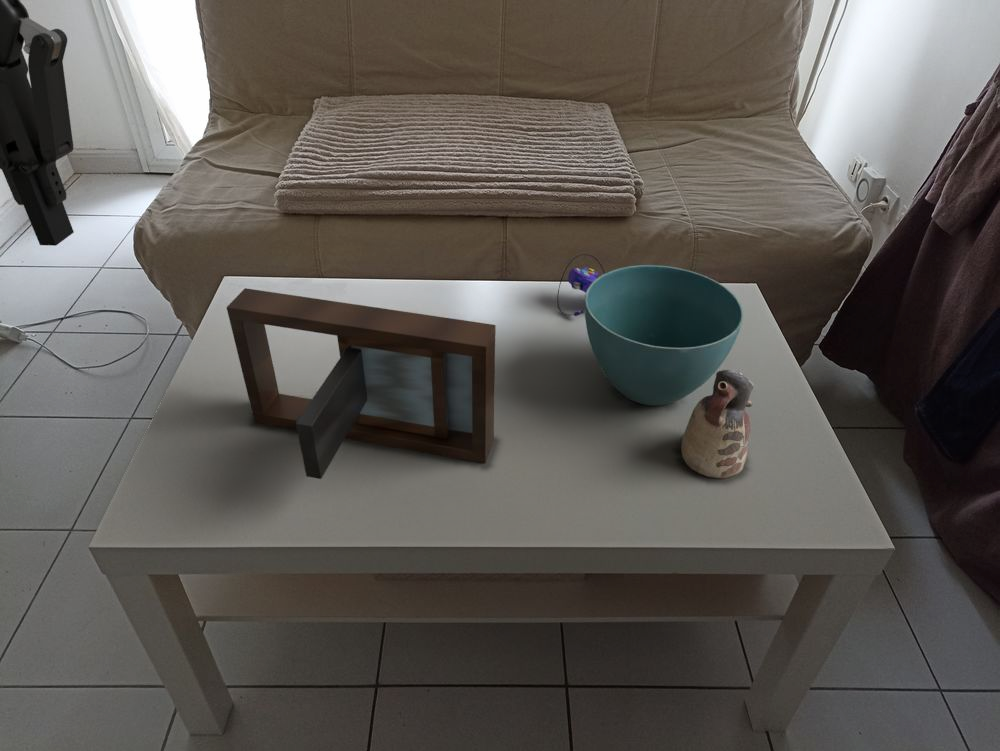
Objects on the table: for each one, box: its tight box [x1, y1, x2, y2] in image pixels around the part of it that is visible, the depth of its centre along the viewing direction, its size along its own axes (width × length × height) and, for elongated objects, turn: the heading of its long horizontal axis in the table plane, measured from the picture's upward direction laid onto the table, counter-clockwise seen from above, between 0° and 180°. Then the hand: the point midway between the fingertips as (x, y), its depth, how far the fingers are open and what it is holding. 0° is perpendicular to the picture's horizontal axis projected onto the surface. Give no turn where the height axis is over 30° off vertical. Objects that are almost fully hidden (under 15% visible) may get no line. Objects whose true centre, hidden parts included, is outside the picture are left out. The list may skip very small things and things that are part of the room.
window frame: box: [226, 287, 497, 464], centre depth 82 cm, size 28×4×16 cm, turn 77°
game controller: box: [556, 253, 606, 317], centre depth 108 cm, size 10×8×10 cm
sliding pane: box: [296, 336, 449, 480], centre depth 77 cm, size 12×13×12 cm
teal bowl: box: [584, 264, 744, 407], centre depth 91 cm, size 18×18×12 cm
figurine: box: [680, 369, 755, 479], centre depth 81 cm, size 7×7×12 cm
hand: (57, 238), depth 66 cm, fingers closed
